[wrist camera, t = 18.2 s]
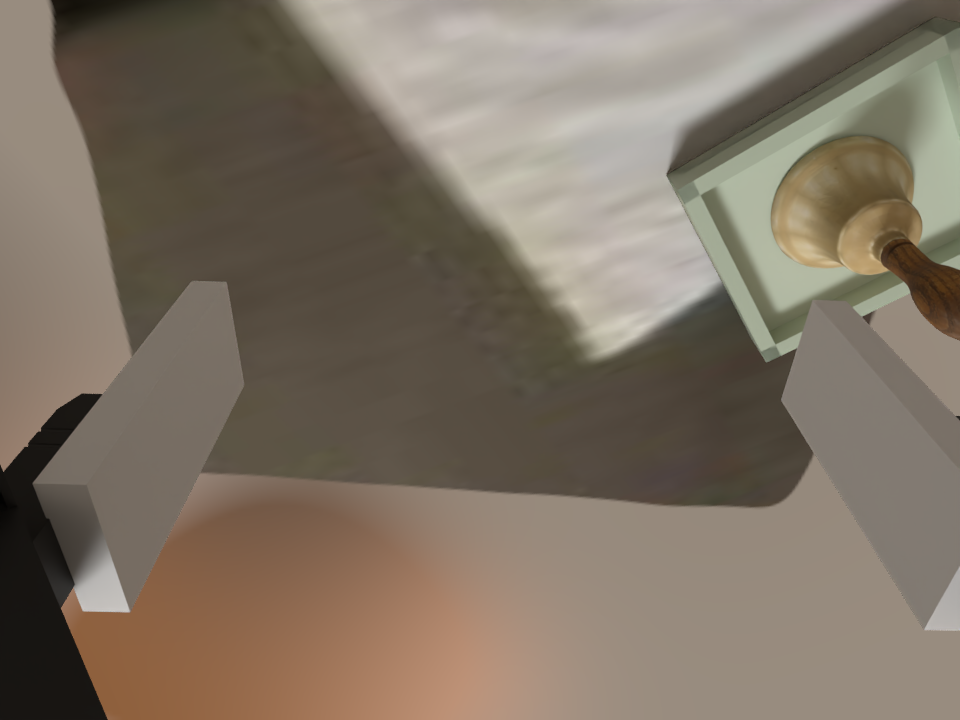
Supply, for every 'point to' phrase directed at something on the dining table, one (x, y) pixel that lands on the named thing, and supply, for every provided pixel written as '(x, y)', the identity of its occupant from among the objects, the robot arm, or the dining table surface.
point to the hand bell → (863, 222)
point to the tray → (797, 132)
